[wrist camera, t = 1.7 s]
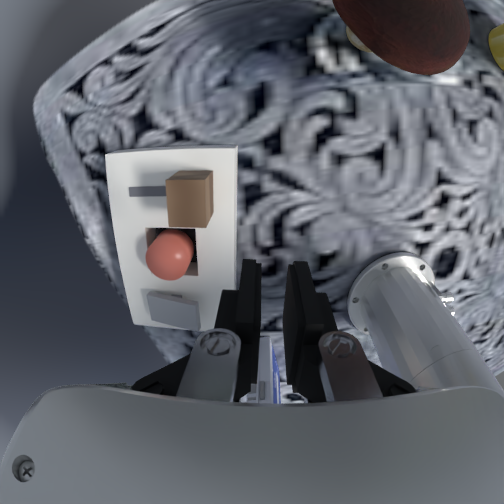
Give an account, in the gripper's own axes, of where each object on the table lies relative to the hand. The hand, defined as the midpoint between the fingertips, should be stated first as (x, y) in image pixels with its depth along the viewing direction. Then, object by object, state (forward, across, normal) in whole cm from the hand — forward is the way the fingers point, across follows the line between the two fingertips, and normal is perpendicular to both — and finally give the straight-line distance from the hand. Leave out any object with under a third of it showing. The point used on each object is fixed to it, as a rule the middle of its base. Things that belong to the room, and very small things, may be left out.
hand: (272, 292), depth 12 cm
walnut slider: (+16, +6, 0) cm, 17 cm away
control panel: (+19, +10, +6) cm, 22 cm away
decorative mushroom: (+19, -9, -17) cm, 27 cm away
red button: (+16, +10, +6) cm, 20 cm away
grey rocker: (+15, +10, +13) cm, 22 cm away
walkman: (+19, -1, +24) cm, 31 cm away
